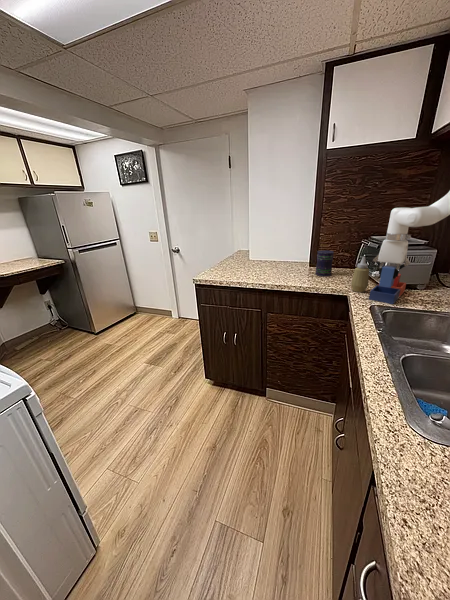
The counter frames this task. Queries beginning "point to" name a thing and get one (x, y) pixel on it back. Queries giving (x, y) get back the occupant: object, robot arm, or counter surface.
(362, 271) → the squeeze bottle
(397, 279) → the red block
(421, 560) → the counter surface
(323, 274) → the storage jar
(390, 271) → the blue block
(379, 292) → the blue bin
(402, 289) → the red bin
